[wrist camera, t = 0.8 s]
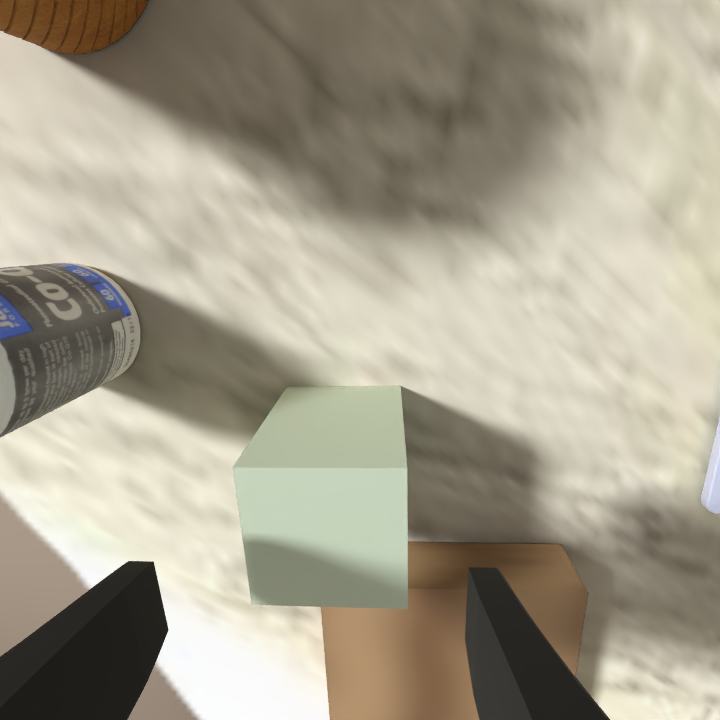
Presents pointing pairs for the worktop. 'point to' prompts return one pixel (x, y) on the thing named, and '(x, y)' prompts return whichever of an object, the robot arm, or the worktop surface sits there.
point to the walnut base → (442, 631)
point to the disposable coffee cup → (70, 22)
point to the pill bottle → (59, 337)
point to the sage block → (327, 500)
